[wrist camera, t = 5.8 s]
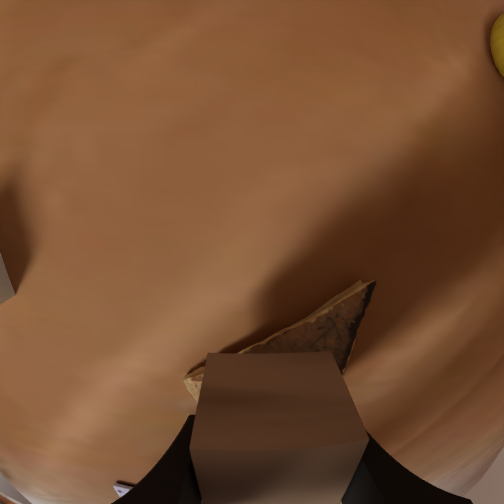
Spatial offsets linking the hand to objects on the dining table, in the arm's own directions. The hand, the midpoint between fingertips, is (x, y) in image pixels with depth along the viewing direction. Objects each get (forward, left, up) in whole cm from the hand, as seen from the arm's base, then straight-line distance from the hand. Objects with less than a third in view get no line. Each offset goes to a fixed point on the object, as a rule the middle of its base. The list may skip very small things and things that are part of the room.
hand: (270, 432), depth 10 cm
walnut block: (0, 0, -2) cm, 2 cm away
